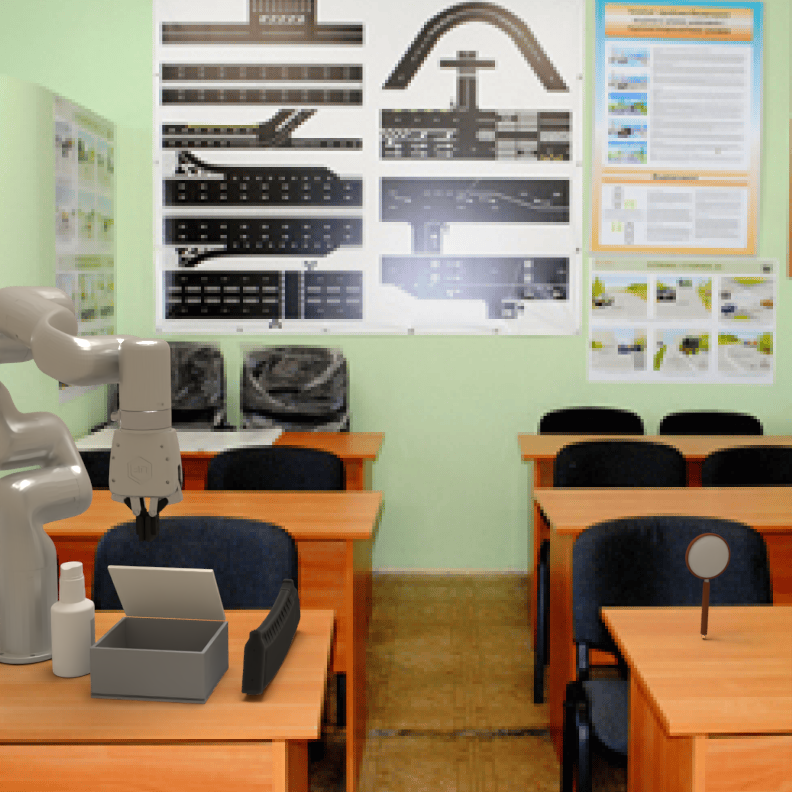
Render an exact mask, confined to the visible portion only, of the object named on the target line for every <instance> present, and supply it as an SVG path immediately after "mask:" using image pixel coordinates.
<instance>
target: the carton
mask: <svg viewBox="0 0 792 792" xmlns="http://www.w3.org/2000/svg"><path fill="white" fill-rule="evenodd" d="M229 663H230V662H229V621H227V620H225V621H221V620H198V619H175V618H153V617H130V616H123V617H121V618H119V620H118V621H117V622H116V623H114V625H113V626H111V628H110V629H109V630H108V631H106V633H104V634H103V635H102V636H101V637H100V638H99V639H98V640H97V641H95V644H94V645H93V646H92V647H90V673H89V674H90V675H89V676H90V678H89V679H90V699H104V700H105V699H106V700H107V699H108V700H122V701H123V700H126V701H144V702H145V701H147V702H164V703H184V704H185V703H186V704H202V705H203V704H206V703H207V701H208V699H209V698H210V697H211V695H212V693H213V692H214V691H215V689H216V687H217V686H218V685H219V683H220V681H221V680H222V679H223V677H224V675H225V673H226V672H227V671H228V670H229Z"/></svg>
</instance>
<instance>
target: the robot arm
mask: <svg viewBox="0 0 792 792" xmlns="http://www.w3.org/2000/svg"><path fill="white" fill-rule="evenodd" d="M78 333H79V324H78V320H77V318H76V310H75V306H74V302H73V300H72V298H71V296H70V295H69V294H68V293H67V292H65V290H63V289H61V288H59V287H56V286H49V285H48V286H47V285H46V286H45V285H43V286H42V285H19V286H18V285H11V286H10V285H9V286H6V287H1V288H0V365H1V364H17V363H26V362H29V361H32V360H33V361H34V363H35V366H36V367H37V368H38V370H40V372H41V373H43V374H45V375H46V376H48V377H50V378H52V379H54V380H56V381H58V382H60V383H63V384H64V385H68V386H72V387H91V386H92V387H93V386H101V385H107V384H108V385H114V384H118V391H119V392H118V393H119V394H118V396H119V397H118V399H119V401H118V402H119V409H117V411H115V412H114V411H112V412H111V413H110V421H112V422H116V423H117V424H118V427H119V428H117V429H114V431H113V436H112V439H111V440H112V441H111V447H110V449H111V450H110V458H109V475H108V486H109V487H108V488H109V492H110V493H111V495H110V498H111V500H112V501H113V502H117V503H119V504H120V503H121V504H125V506H126V507H127V508H129V510H131V512H132V515H133V516H135V534H136V535H138V542H139V543H143V542H147V543H152V542H153V541H155V539H157V537H158V536H159V534H160V530H161V528H160V513H161V512H162V511H163V510H164V509H165V508H166V507H167V506H169V505H173V504H174V505H175V504H179V503H180V502H183V500H184V494H183V492H182V487H183V466H182V465H183V464H182V458H181V450H180V443H179V438H178V434H177V431H176V428H173V427H172V376H171V375H172V372H171V369H172V368H171V367H172V366H171V348H170V344H169V343H168V342H167V341H166V340H165V339H162V338H157V337H156V338H155V337H139V336H136V335H131V334H126V333H125V334H122V333H121V334H99V335H96V334H95V335H94V334H93V335H79V336H78ZM35 466H39V467H40V468H33V469H28V470H23V471H17V472H13V473H9V474H6V475H4V476H2V477H0V663H4V664H14V665H15V664H16V665H17V664H18V665H19V664H20V665H22V664H23V665H25V664H32V663H39V662H44V661H47V660H50V659H51V660H52V635H51V607H52V605H53V604H54V603H56V602H57V601H59V600H58V599H59V595H58V594H59V591H58V565H57V563H58V561H57V550H56V546H55V544H54V541H53V540H52V539H51V537H50V535H48V534H47V532H46V531H45V529H44V525H45V524H46V525H47V524H49V523H50V524H51V523H53V522H57V521H61V520H66V519H70V518H73V517H78V516H79V515H82V514H84V513H85V512H87V510H88V509H90V507H91V506H92V501H93V497H94V495H93V494H94V493H93V492H94V491H93V486H92V483H91V479H90V476H89V473H88V470H87V469H86V466H85V464H84V461H83V459H82V456H81V454H80V452H79V450H78V447H77V445H76V442H75V440H74V438H73V435H72V432H71V431H70V429H69V427H68V425H67V424H66V423H65V421H64V420H63V419H62V418H61V417H60V416H58V415H57V414H55V413H53V412H50V411H32V412H25V413H24V412H21V411H20V410H18V408H17V407H16V405H15V403H14V400H13V397H12V395H11V393H10V391H9V389H8V388H7V386H5V384H4V383H3V382H2V381H1V380H0V472H1V471H10V470H11V471H12V470H17V469H23V468H28V467H35ZM147 498H150V499H149V507H148V508H147V504H146V499H147Z"/></svg>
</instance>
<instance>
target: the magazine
mask: <svg viewBox="0 0 792 792" xmlns="http://www.w3.org/2000/svg"><path fill="white" fill-rule="evenodd" d="M281 583H282V584H281V587H280V589H279V592H278V594H277V597H276V598H275V601H274V603H273V605H272V607H271V609H269V612H268V614H267V615H266V617H265V618H264V619H263V621H262V622H261V623H260V625H259V626H257V627H256V628H254V629H252V630H250V631H249V635H248V636H249V637H248V640H247V641H246V643H245V645H244V646H243V647H244V649H243V661H242V677H241V680H242V681H241V691H240V692H241V693H242V694H246V696H247V695H249V696H257V695H262V694H263V693H264V690H265V689H266V688H267V686H268V685H269V684H270V683H271V681H272V680H273V679H274V678H275V676H276V675H277V673H278V672H279V670H280V668H281V667H282V665H283V663H284V661H285V659H286V657H287V655H288V653H289V651H290V648H291V645H292V643H293V641H294V638H295V636H296V632H297V629H298V626H299V624H300V621H301V603H300V602H301V601H300V597H299V592H298V589H297V588H296V587H295V585H294V580H293V579H291V578H290V579H289V578H284V579H283V580H282V582H281Z"/></svg>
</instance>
